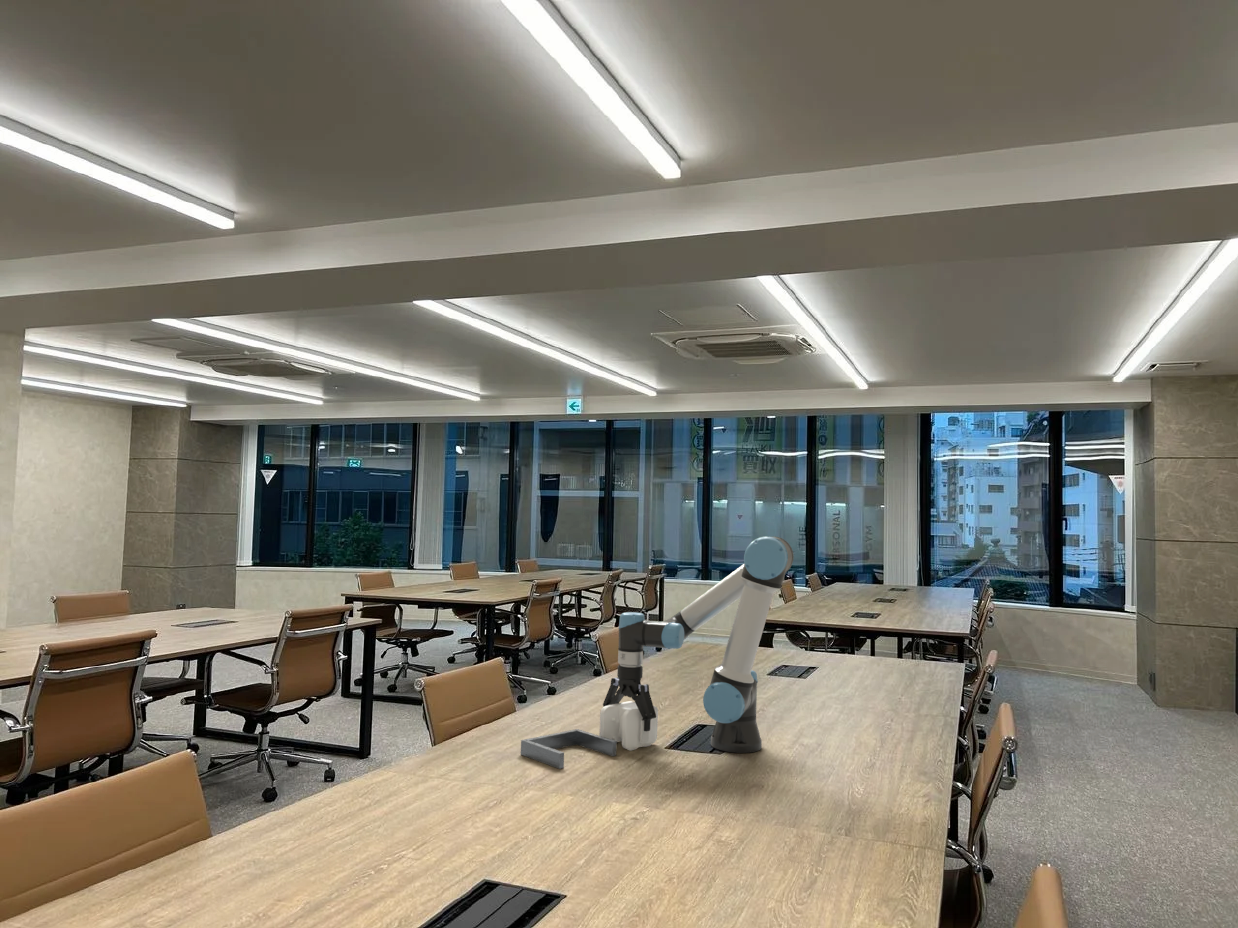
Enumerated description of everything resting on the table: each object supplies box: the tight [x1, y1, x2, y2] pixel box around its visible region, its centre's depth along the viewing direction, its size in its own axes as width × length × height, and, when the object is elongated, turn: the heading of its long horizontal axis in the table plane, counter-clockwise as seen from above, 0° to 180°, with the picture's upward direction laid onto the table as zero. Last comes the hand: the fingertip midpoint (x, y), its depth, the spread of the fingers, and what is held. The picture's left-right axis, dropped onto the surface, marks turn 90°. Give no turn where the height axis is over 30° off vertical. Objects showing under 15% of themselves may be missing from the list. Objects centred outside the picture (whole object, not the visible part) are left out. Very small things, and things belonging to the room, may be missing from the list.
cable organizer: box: [598, 700, 659, 752], centre depth 250 cm, size 15×11×12 cm
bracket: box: [520, 728, 618, 770], centre depth 237 cm, size 17×21×4 cm
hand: (627, 737), depth 250 cm, fingers open, 13 cm apart
